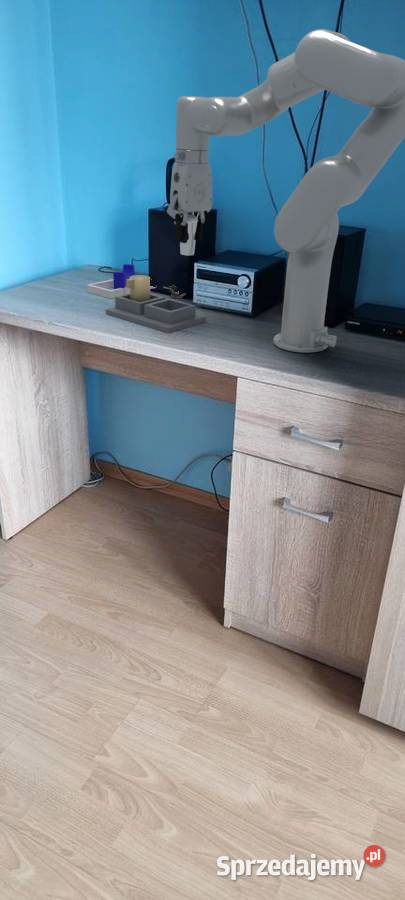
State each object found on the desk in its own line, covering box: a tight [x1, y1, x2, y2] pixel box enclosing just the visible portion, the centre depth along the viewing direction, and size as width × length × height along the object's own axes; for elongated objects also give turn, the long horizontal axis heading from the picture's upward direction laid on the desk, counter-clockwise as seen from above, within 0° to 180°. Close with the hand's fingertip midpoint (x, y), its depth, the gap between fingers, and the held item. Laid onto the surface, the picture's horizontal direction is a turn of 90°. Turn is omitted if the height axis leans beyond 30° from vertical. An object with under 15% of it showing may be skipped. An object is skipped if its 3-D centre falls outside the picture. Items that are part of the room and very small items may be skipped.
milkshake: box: [179, 212, 199, 256], centre depth 158 cm, size 4×5×10 cm
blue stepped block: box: [112, 263, 136, 290], centre depth 191 cm, size 12×4×6 cm, turn 171°
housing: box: [105, 274, 207, 334], centre depth 167 cm, size 22×14×9 cm, turn 50°
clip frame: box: [86, 278, 157, 299], centre depth 192 cm, size 10×18×2 cm, turn 140°
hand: (188, 240), depth 159 cm, fingers closed on milkshake, 4 cm apart
